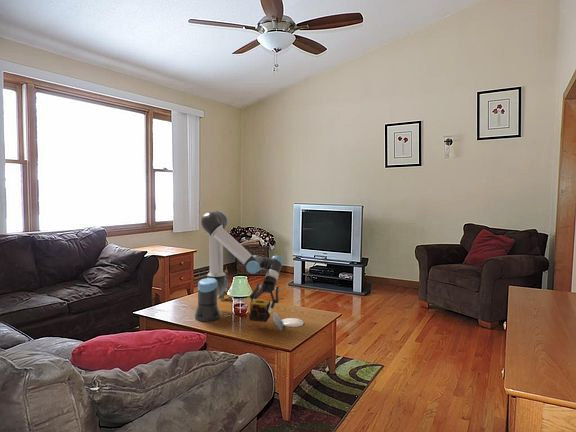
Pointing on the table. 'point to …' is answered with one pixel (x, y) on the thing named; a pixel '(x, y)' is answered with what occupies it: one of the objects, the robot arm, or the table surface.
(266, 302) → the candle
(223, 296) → the eiffel tower
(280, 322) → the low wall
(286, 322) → the coaster
